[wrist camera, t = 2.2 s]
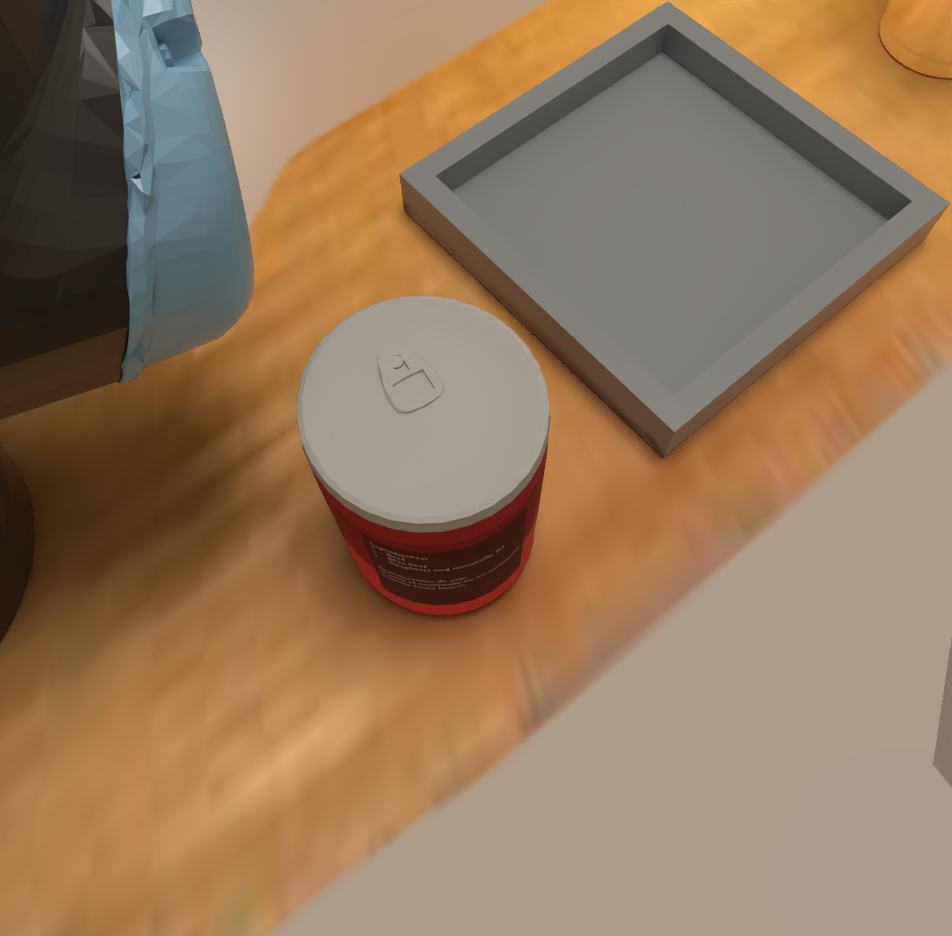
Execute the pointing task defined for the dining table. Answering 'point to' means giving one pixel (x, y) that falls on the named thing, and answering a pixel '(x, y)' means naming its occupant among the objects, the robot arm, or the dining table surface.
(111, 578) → the dining table surface
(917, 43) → the glass
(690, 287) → the tray
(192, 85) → the robot arm
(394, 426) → the canned food
